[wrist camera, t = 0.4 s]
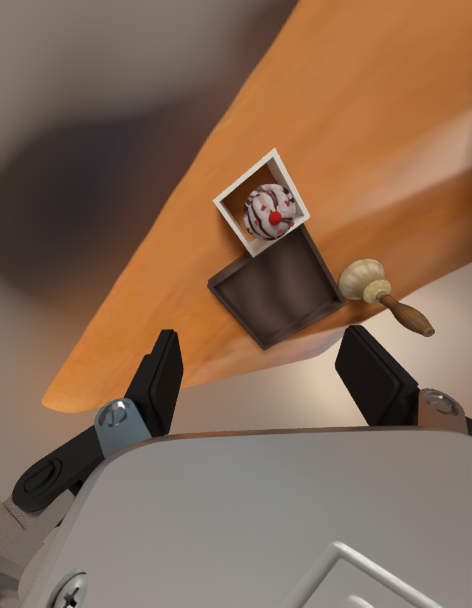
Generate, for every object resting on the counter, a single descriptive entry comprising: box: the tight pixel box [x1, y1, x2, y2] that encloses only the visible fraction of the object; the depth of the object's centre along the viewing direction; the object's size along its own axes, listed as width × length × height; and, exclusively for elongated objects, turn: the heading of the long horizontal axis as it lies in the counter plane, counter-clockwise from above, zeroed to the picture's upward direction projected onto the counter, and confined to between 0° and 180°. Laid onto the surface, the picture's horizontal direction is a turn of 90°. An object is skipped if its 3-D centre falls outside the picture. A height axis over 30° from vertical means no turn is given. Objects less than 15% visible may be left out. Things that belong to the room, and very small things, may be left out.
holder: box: [213, 148, 310, 258], centre depth 30 cm, size 9×9×6 cm
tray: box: [207, 223, 347, 350], centre depth 38 cm, size 18×18×3 cm
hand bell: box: [338, 258, 435, 337], centre depth 32 cm, size 8×8×16 cm
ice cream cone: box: [243, 184, 296, 241], centre depth 26 cm, size 6×6×15 cm
